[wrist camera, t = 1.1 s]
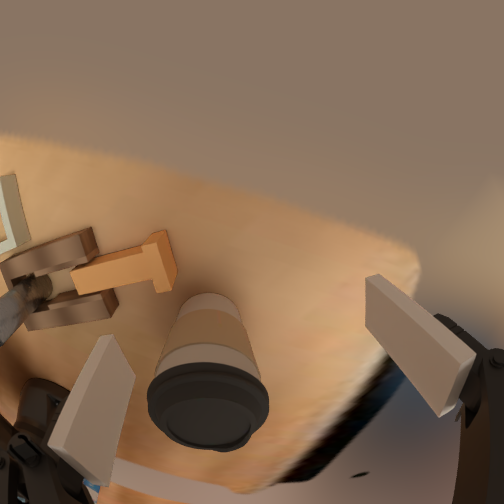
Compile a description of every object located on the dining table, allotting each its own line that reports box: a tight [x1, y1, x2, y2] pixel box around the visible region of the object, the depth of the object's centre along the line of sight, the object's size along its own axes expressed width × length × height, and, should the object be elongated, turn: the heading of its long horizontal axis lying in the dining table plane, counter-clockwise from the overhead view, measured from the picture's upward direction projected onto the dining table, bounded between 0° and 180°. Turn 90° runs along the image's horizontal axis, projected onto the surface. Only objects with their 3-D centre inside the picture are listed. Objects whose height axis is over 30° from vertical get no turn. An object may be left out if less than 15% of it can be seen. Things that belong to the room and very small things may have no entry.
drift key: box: [70, 230, 178, 295], centre depth 24 cm, size 10×4×4 cm, turn 101°
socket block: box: [0, 227, 119, 331], centre depth 25 cm, size 14×9×3 cm, turn 101°
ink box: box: [83, 478, 100, 504], centre depth 36 cm, size 9×5×12 cm, turn 111°
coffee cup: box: [147, 293, 269, 452], centre depth 23 cm, size 9×9×15 cm
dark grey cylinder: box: [0, 272, 53, 347], centre depth 20 cm, size 4×4×12 cm
